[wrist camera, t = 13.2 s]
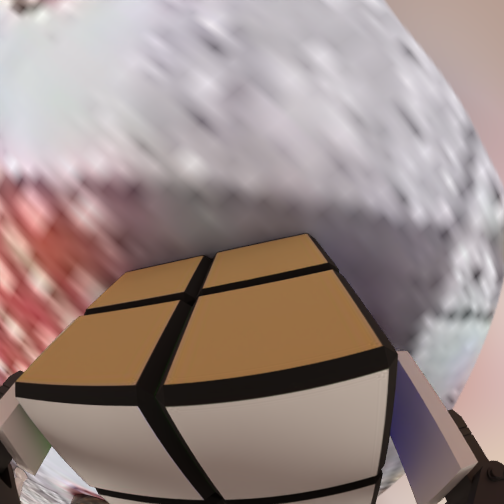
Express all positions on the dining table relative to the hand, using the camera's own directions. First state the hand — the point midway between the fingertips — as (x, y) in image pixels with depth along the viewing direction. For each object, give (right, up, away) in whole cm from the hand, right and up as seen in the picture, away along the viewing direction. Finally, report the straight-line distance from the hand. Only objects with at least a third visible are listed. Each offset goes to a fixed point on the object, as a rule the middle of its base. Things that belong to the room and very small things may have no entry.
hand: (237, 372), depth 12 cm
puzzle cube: (0, 0, +5) cm, 5 cm away
